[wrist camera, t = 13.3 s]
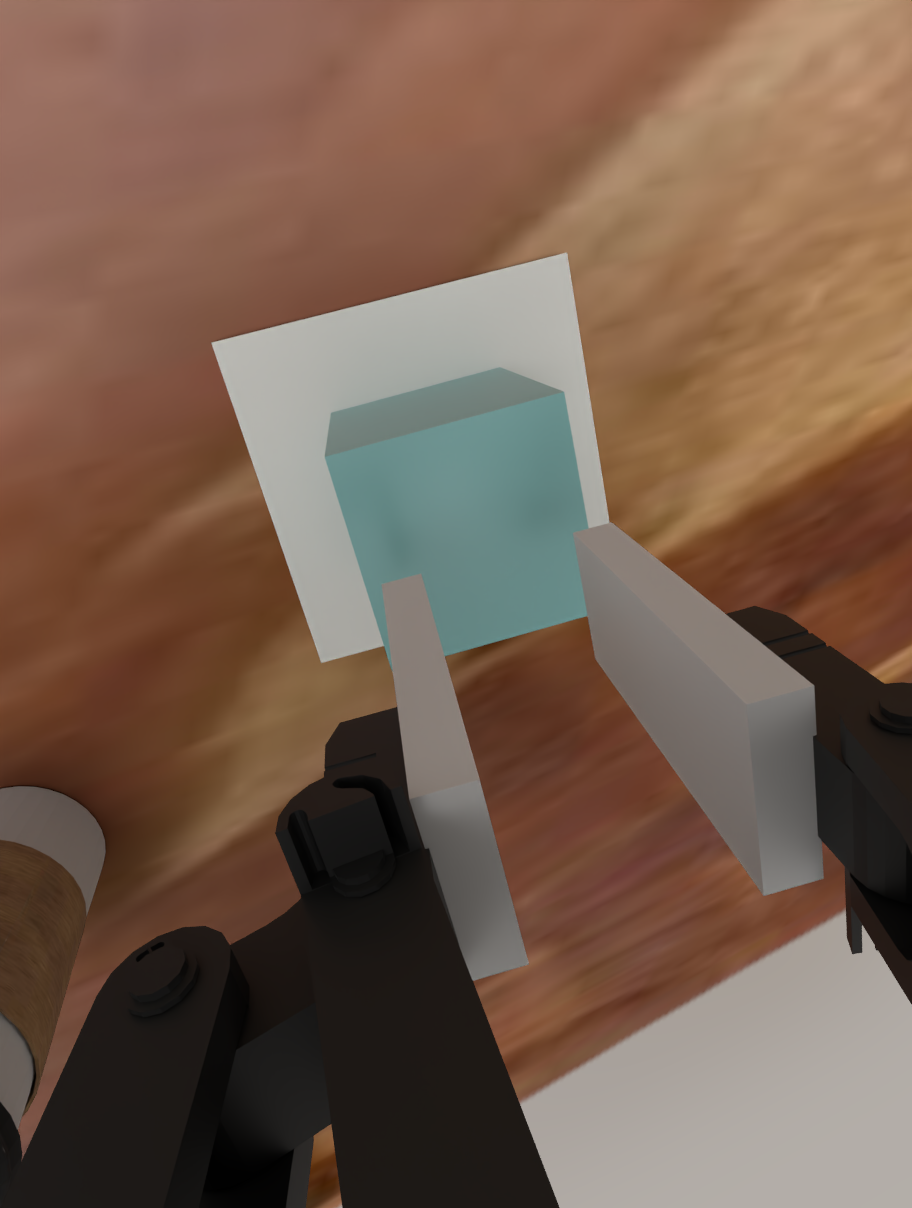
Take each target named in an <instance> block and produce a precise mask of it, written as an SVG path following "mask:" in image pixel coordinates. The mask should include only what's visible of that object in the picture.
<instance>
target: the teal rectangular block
mask: <svg viewBox="0 0 912 1208" xmlns="http://www.w3.org/2000/svg"><path fill="white" fill-rule="evenodd" d="M325 460H326V463H327V466H328V469H329V473H330V476H331V479H332V482H333V485H334V489H335V492H336V495H337V498H338V501H339V504H340V508H341V511H342V514H343V517H344V520H345V523H346V527H347V530H348V533H349V536H350V539H351V543H352V546H353V549H354V552H355V555H356V558H357V562H358V565H359V568H360V571H361V574H362V578H363V581H364V584H365V587H366V590H367V593H368V597H369V600H370V603H371V606H372V609H373V612H374V616H375V619H376V622H377V625H378V628H379V632H380V635H381V638H382V641H383V644H384V647H385V651H386V654H387V657H388V660H389V663H390V667H391V670H392V671H393V669H392V662H391V654H390V646H389V638H388V631H387V623H386V615H385V607H384V600H383V592H382V584H384V583H388V582H391V581H395V580H399V579H403V578H406V577H410V576H414V575H417V574H421V575H422V578H423V582H424V585H425V589H426V593H427V596H428V600H429V603H430V607H431V610H432V614H433V617H434V621H435V624H436V628H437V631H438V635H439V638H440V642H441V645H442V649H443V652H444V656H447V655H451V654H454V653H458V652H462V651H465V650H469V649H472V648H476V647H479V646H483V645H486V644H490V643H493V642H497V641H500V640H504V639H507V638H511V637H515V636H518V635H522V634H525V633H529V632H532V631H536V630H539V629H543V628H546V627H550V626H553V625H557V624H560V623H564V622H568V621H571V620H575V619H578V618H582V617H585V616H588V615H587V610H586V604H585V598H584V593H583V587H582V581H581V576H580V570H579V565H578V559H577V553H576V548H575V542H574V537H573V533H574V532H577V531H581V530H585V529H588V528H589V527H588V522H587V516H586V511H585V505H584V500H583V494H582V488H581V483H580V477H579V472H578V466H577V461H576V455H575V449H574V444H573V438H572V433H571V427H570V422H569V416H568V410H567V405H566V399H565V394H564V392H563V391H561V390H558V389H556V388H553V387H550V386H548V385H545V384H543V383H540V382H537V381H535V380H532V379H529V378H527V377H524V376H522V375H519V374H516V373H514V372H511V371H509V370H506V369H503V368H501V367H499V368H495V369H491V370H488V371H484V372H480V373H477V374H473V375H469V376H465V377H462V378H458V379H454V380H451V381H447V382H443V383H439V384H436V385H432V386H428V387H425V388H421V389H417V390H414V391H410V392H406V393H402V394H399V395H395V396H391V397H388V398H384V399H380V400H376V401H373V402H369V403H365V404H362V405H358V406H354V407H350V408H347V409H343V410H339V411H336V412H332V413H331V416H330V423H329V429H328V436H327V443H326V450H325Z"/></svg>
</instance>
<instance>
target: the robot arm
mask: <svg viewBox="0 0 912 1208" xmlns="http://www.w3.org/2000/svg"><path fill="white" fill-rule="evenodd" d="M573 537H574V542H575V548H576V553H577V559H578V565H579V570H580V576H581V581H582V587H583V593H584V598H585V604H586V610H587V615H588V621H589V626H590V632H591V638H592V643H593V649H594V654H595V659H596V661H597V662H598V663H599V665H600V666H601V668H602V669H603V671H604V672H605V673H606V675H607V676H608V678H609V679H610V680H611V682H612V683H613V685H614V686H615V687H616V689H617V690H618V692H619V693H620V694H621V696H622V697H623V699H624V700H625V701H626V703H627V704H628V706H629V707H630V708H631V710H632V711H633V713H634V714H635V716H636V717H637V718H638V720H639V721H640V723H641V724H642V725H643V727H644V728H645V730H646V731H647V732H648V734H649V735H650V737H651V738H652V739H653V741H654V742H655V744H656V745H657V746H658V748H659V749H660V751H661V752H662V753H663V755H664V756H665V758H666V759H667V761H668V762H669V763H670V765H671V766H672V768H673V769H674V770H675V772H676V773H677V775H678V776H679V777H680V779H681V780H682V782H683V783H684V784H685V786H686V787H687V789H688V790H689V791H690V793H691V794H692V796H693V797H694V798H695V800H696V801H697V803H698V804H699V806H700V807H701V808H702V810H703V811H704V813H705V814H706V815H707V817H708V818H709V820H710V821H711V822H712V824H713V825H714V827H715V828H716V829H717V831H718V832H719V834H720V835H721V836H722V838H723V839H724V841H725V842H726V844H727V845H728V846H729V848H730V849H731V851H732V852H733V853H734V855H735V856H736V858H737V859H738V860H739V862H740V863H741V865H742V866H743V867H744V869H745V870H746V872H747V873H748V874H749V876H750V877H751V879H752V880H753V881H754V883H755V884H756V886H757V887H758V889H759V890H760V891H761V893H762V894H763V896H765V895H769V894H772V893H776V892H779V891H782V890H786V889H789V888H793V887H796V886H800V885H803V884H806V883H810V882H813V881H817V880H820V879H823V858H822V841H823V842H824V843H825V845H826V846H827V847H828V848H829V849H830V850H831V851H832V852H833V853H834V855H835V856H836V857H837V858H838V859H839V860H840V861H841V862H842V864H843V865H844V866H845V892H846V922H847V939H848V942H849V945H850V948H851V951H852V954H855V953H862V925H863V926H864V928H865V930H866V931H867V933H868V934H869V936H870V938H871V939H872V941H873V943H874V944H875V948H876V950H878V951H879V952H880V954H881V956H882V957H883V958H884V960H885V962H886V964H887V965H888V967H889V968H890V970H891V971H892V973H893V975H894V976H895V978H896V980H897V981H898V983H899V985H900V986H901V988H902V989H903V991H904V993H905V994H906V996H907V998H908V999H909V1001H910V1003H911V1004H912V683H890V684H884V683H882V682H881V681H880V680H878V679H877V678H875V677H874V676H872V675H871V674H870V673H868V672H867V671H865V670H864V669H862V668H861V667H860V666H858V665H857V664H855V663H854V662H852V661H851V660H850V659H848V658H847V657H845V656H844V655H842V654H841V653H839V652H838V651H837V650H835V649H834V648H832V647H831V646H828V647H827V646H826V643H825V642H824V641H822V640H821V639H819V638H818V637H817V636H815V635H814V634H812V633H811V634H809V633H808V630H807V629H805V628H804V627H802V626H801V625H799V624H798V623H796V622H795V621H794V620H792V619H791V618H789V617H788V616H786V615H783V614H780V613H777V612H773V611H770V610H767V609H763V608H760V607H757V606H753V607H750V608H746V609H742V610H739V611H735V612H731V613H728V614H725V613H724V612H722V611H721V610H720V609H719V608H717V607H716V606H715V605H714V604H712V603H711V602H710V601H709V600H707V599H706V598H705V597H704V596H702V595H701V594H700V593H699V592H697V591H696V590H695V589H694V588H693V587H691V586H690V585H689V584H688V583H686V582H685V581H684V580H683V579H681V578H680V577H679V576H678V575H676V574H675V573H674V572H673V571H671V570H670V569H669V568H668V567H666V566H665V565H664V564H663V563H661V562H660V561H659V560H658V559H657V558H655V557H654V556H653V555H652V554H650V553H649V552H648V551H647V550H645V549H644V548H643V547H642V546H640V545H639V544H638V543H637V542H635V541H634V540H633V539H632V538H630V537H629V536H628V535H627V534H626V533H624V532H623V531H622V530H621V529H619V528H618V527H617V526H616V525H614V524H613V523H612V522H611V523H607V524H603V525H600V526H596V527H592V528H588V529H585V530H581V531H577V532H574V533H573ZM382 592H383V600H384V607H385V615H386V623H387V631H388V638H389V646H390V654H391V662H392V669H393V677H394V685H395V693H396V700H397V707H396V708H392V709H388V710H385V711H381V712H378V713H374V714H370V715H367V716H363V717H359V718H356V719H352V720H349V721H345V722H341V723H340V724H339V725H338V727H337V728H336V730H335V731H334V733H333V734H332V736H331V738H330V739H329V741H328V742H327V744H326V747H325V771H324V778H322V779H320V780H318V781H316V782H314V783H312V784H310V785H308V786H307V787H306V788H305V789H303V790H302V791H301V792H300V793H298V794H297V795H296V796H295V797H293V798H292V799H291V800H290V801H289V803H288V804H287V805H286V807H285V808H284V810H283V811H282V812H281V814H280V815H279V817H278V822H277V827H276V832H275V834H276V836H277V838H278V841H279V843H280V846H281V848H282V850H283V853H284V855H285V858H286V860H287V863H288V865H289V867H290V870H291V872H292V875H293V877H294V879H295V882H296V884H297V887H298V889H299V892H300V894H301V899H300V900H299V901H298V902H297V903H296V904H295V905H293V906H292V907H291V908H290V909H289V910H288V911H287V912H286V913H285V914H283V915H282V916H280V917H278V918H277V919H275V920H274V921H272V922H271V923H269V924H268V925H266V926H264V927H262V928H261V929H259V930H257V931H255V932H253V933H251V934H250V935H248V936H246V937H244V938H242V939H241V940H239V941H237V942H235V943H233V944H231V945H229V944H228V942H227V940H226V939H225V937H224V935H223V934H222V933H221V932H219V931H216V930H214V929H211V928H209V927H206V926H198V927H183V928H180V929H177V930H174V931H171V932H169V933H166V934H163V935H160V936H158V937H156V938H155V939H153V940H151V941H150V942H148V943H147V944H145V945H143V946H142V947H140V948H139V949H137V950H136V951H134V952H133V953H132V954H131V955H130V956H129V957H127V958H126V959H125V960H124V961H123V962H122V963H121V964H120V965H119V966H118V967H117V968H116V969H115V970H114V971H113V972H112V973H111V975H110V976H109V978H108V979H107V981H106V982H105V984H104V985H103V987H102V989H101V990H100V992H99V993H98V995H97V996H96V999H95V1001H94V1003H93V1005H92V1007H91V1010H90V1012H89V1014H88V1016H87V1018H86V1021H85V1023H84V1025H83V1027H82V1029H81V1032H80V1034H79V1036H78V1038H77V1040H76V1043H75V1045H74V1047H73V1049H72V1052H71V1054H70V1056H69V1058H68V1060H67V1063H66V1065H65V1067H64V1069H63V1071H62V1074H61V1076H60V1078H59V1080H58V1082H57V1085H56V1087H55V1089H54V1091H53V1093H52V1096H51V1098H50V1100H49V1102H48V1104H47V1107H46V1109H45V1111H44V1113H43V1115H42V1118H41V1120H40V1122H39V1124H38V1126H37V1129H36V1131H35V1133H34V1135H33V1137H32V1140H31V1142H30V1144H29V1146H28V1148H27V1151H26V1153H25V1155H24V1157H23V1159H22V1162H21V1164H20V1166H19V1168H18V1170H17V1173H16V1175H15V1177H14V1179H13V1181H12V1184H11V1186H10V1188H9V1190H8V1193H7V1195H6V1197H5V1199H4V1201H3V1204H2V1206H1V1208H305V1207H306V1199H307V1191H308V1183H309V1174H310V1166H311V1158H312V1150H313V1141H314V1137H313V1136H314V1135H315V1134H317V1133H318V1132H319V1131H321V1130H322V1129H324V1128H325V1127H327V1126H328V1125H330V1124H332V1132H333V1139H334V1147H335V1154H336V1162H337V1169H338V1177H339V1184H340V1192H341V1199H342V1207H343V1208H559V1205H558V1203H557V1200H556V1197H555V1195H554V1192H553V1190H552V1187H551V1184H550V1182H549V1179H548V1177H547V1174H546V1171H545V1169H544V1166H543V1164H542V1161H541V1158H540V1156H539V1153H538V1150H537V1148H536V1145H535V1143H534V1140H533V1137H532V1135H531V1132H530V1130H529V1127H528V1124H527V1122H526V1119H525V1116H524V1114H523V1111H522V1109H521V1106H520V1103H519V1101H518V1098H517V1096H516V1093H515V1090H514V1088H513V1085H512V1082H511V1080H510V1077H509V1075H508V1072H507V1069H506V1067H505V1064H504V1062H503V1059H502V1056H501V1054H500V1051H499V1049H498V1046H497V1043H496V1041H495V1038H494V1035H493V1033H492V1030H491V1028H490V1025H489V1022H488V1020H487V1017H486V1015H485V1012H484V1009H483V1007H482V1004H481V1001H480V999H479V996H478V994H477V991H476V988H475V986H474V983H473V981H474V980H477V979H480V978H484V977H487V976H491V975H494V974H498V973H501V972H505V971H508V970H511V969H515V968H518V967H522V966H525V965H529V963H528V959H527V955H526V952H525V948H524V944H523V940H522V937H521V933H520V929H519V925H518V922H517V918H516V914H515V910H514V907H513V903H512V899H511V896H510V892H509V888H508V884H507V881H506V877H505V873H504V869H503V866H502V862H501V858H500V854H499V851H498V847H497V843H496V839H495V836H494V832H493V828H492V824H491V821H490V817H489V813H488V809H487V806H486V802H485V798H484V794H483V791H482V787H481V783H480V779H479V776H478V772H477V769H476V765H475V762H474V758H473V755H472V751H471V748H470V744H469V741H468V737H467V734H466V730H465V727H464V723H463V720H462V716H461V712H460V709H459V705H458V702H457V698H456V695H455V691H454V688H453V684H452V681H451V677H450V674H449V670H448V667H447V663H446V660H445V656H444V652H443V649H442V645H441V642H440V638H439V635H438V631H437V628H436V624H435V621H434V617H433V614H432V610H431V607H430V603H429V600H428V596H427V593H426V589H425V585H424V582H423V578H422V575H421V574H417V575H414V576H410V577H406V578H403V579H399V580H395V581H391V582H388V583H384V584H382Z"/></svg>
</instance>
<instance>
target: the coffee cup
mask: <svg viewBox="0 0 912 1208" xmlns="http://www.w3.org/2000/svg"><path fill="white" fill-rule="evenodd" d="M105 853H106V849H105V839H104V836H103V833H102V829H101V828H100V826H99V824H98V822H97V821H96V819H95V818H94V817H93V816H92V815H91V813H90V812H89V811H88V810H87V809H86V808H84V807H83V806H82V805H80V804H79V803H78V802H77V801H75V800H73V799H71V798H69V797H67V796H66V795H64V794H61V793H58V792H55V791H52V790H49V789H44V788H39V787H29V786H16V787H9V788H2V789H0V1208H1V1206H2V1204H3V1201H4V1199H5V1197H6V1195H7V1193H8V1190H9V1188H10V1186H11V1184H12V1181H13V1179H14V1177H15V1175H16V1173H17V1170H18V1168H19V1166H20V1164H21V1159H22V1150H21V1141H20V1135H19V1132H18V1128H19V1124H20V1121H21V1118H22V1116H23V1115H24V1114H25V1113H26V1112H27V1111H28V1109H29V1107H30V1105H31V1103H32V1102H33V1100H34V1098H35V1096H36V1094H37V1091H38V1087H39V1084H40V1080H41V1077H42V1073H43V1070H44V1066H45V1063H46V1059H47V1056H48V1052H49V1049H50V1045H51V1042H52V1038H53V1035H54V1031H55V1028H56V1024H57V1021H58V1017H59V1014H60V1010H61V1007H62V1004H63V1000H64V997H65V993H66V990H67V986H68V983H69V979H70V976H71V972H72V969H73V965H74V962H75V958H76V955H77V951H78V948H79V944H80V941H81V937H82V934H83V930H84V926H85V921H86V917H87V914H88V911H89V908H90V905H91V902H92V899H93V895H94V892H95V889H96V886H97V883H98V880H99V877H100V874H101V870H102V867H103V863H104V858H105Z"/></svg>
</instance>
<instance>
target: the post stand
mask: <svg viewBox="0 0 912 1208" xmlns="http://www.w3.org/2000/svg"><path fill="white" fill-rule="evenodd" d="M212 346H213V349H214V352H215V355H216V358H217V361H218V364H219V367H220V369H221V372H222V375H223V378H224V381H225V384H226V387H227V390H228V393H229V396H230V399H231V401H232V404H233V407H234V410H235V413H236V416H237V419H238V422H239V425H240V428H241V431H242V433H243V436H244V439H245V442H246V445H247V448H248V451H249V454H250V457H251V460H252V463H253V465H254V468H255V471H256V474H257V477H258V480H259V483H260V486H261V489H262V492H263V495H264V498H265V500H266V503H267V506H268V509H269V512H270V515H271V518H272V521H273V524H274V527H275V530H276V532H277V535H278V538H279V541H280V544H281V547H282V550H283V553H284V556H285V559H286V562H287V564H288V567H289V570H290V573H291V576H292V579H293V582H294V585H295V588H296V591H297V594H298V596H299V599H300V602H301V605H302V608H303V611H304V614H305V617H306V620H307V623H308V626H309V628H310V631H311V634H312V637H313V640H314V643H315V646H316V649H317V652H318V655H319V658H320V661H321V663H323V662H327V661H330V660H334V659H338V658H341V657H345V656H349V655H352V654H356V653H360V652H363V651H367V650H371V649H374V648H378V647H382V646H384V644H383V641H382V638H381V635H380V632H379V628H378V625H377V622H376V619H375V616H374V612H373V609H372V606H371V603H370V600H369V597H368V593H367V590H366V587H365V584H364V581H363V578H362V574H361V571H360V568H359V565H358V562H357V558H356V555H355V552H354V549H353V546H352V543H351V539H350V536H349V533H348V530H347V527H346V523H345V520H344V517H343V514H342V511H341V508H340V504H339V501H338V498H337V495H336V492H335V489H334V485H333V482H332V479H331V476H330V473H329V469H328V466H327V463H326V460H325V450H326V443H327V436H328V429H329V423H330V416H331V413H332V412H336V411H339V410H343V409H347V408H350V407H354V406H358V405H362V404H365V403H369V402H373V401H376V400H380V399H384V398H388V397H391V396H395V395H399V394H402V393H406V392H410V391H414V390H417V389H421V388H425V387H428V386H432V385H436V384H439V383H443V382H447V381H451V380H454V379H458V378H462V377H465V376H469V375H473V374H477V373H480V372H484V371H488V370H491V369H495V368H499V367H501V368H503V369H506V370H509V371H511V372H514V373H516V374H519V375H522V376H524V377H527V378H529V379H532V380H535V381H537V382H540V383H543V384H545V385H548V386H550V387H553V388H556V389H558V390H561V391H563V392H564V394H565V399H566V405H567V410H568V416H569V422H570V427H571V433H572V438H573V444H574V449H575V455H576V461H577V466H578V472H579V477H580V483H581V488H582V494H583V500H584V505H585V511H586V516H587V522H588V527H589V528H592V527H596V526H600V525H603V524H607V523H609V516H608V510H607V504H606V497H605V491H604V485H603V478H602V472H601V465H600V459H599V453H598V446H597V440H596V434H595V427H594V421H593V415H592V408H591V402H590V395H589V389H588V383H587V376H586V370H585V364H584V357H583V351H582V344H581V338H580V332H579V325H578V319H577V313H576V306H575V300H574V294H573V287H572V281H571V274H570V268H569V262H568V255H567V253H563V254H559V255H555V256H551V257H547V258H543V259H539V260H536V261H532V262H528V263H524V264H520V265H516V266H512V267H508V268H504V269H500V270H496V271H492V272H488V273H484V274H480V275H476V276H472V277H468V278H465V279H461V280H457V281H453V282H449V283H445V284H441V285H437V286H433V287H429V288H425V289H421V290H417V291H413V292H409V293H405V294H401V295H398V296H394V297H390V298H386V299H382V300H378V301H374V302H370V303H366V304H362V305H358V306H354V307H350V308H346V309H342V310H338V311H334V312H330V313H327V314H323V315H319V316H315V317H311V318H307V319H303V320H299V321H295V322H291V323H287V324H283V325H279V326H275V327H271V328H267V329H263V330H260V331H256V332H252V333H248V334H244V335H240V336H236V337H232V338H228V339H224V340H220V341H216V342H212Z"/></svg>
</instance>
